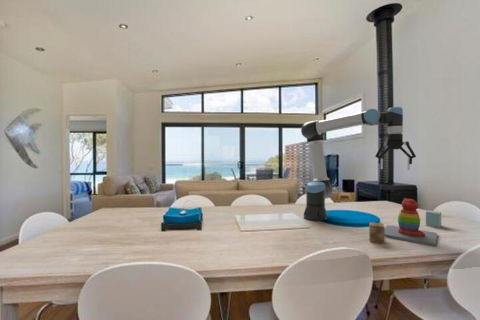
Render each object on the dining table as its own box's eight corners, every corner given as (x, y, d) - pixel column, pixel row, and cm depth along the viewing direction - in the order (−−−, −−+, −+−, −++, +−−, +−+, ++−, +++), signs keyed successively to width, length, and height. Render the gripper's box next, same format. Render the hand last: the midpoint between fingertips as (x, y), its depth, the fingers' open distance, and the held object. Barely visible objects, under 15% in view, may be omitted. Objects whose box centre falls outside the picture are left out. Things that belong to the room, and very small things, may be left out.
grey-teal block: (425, 225, 143) (425, 211, 143) (428, 223, 147) (428, 210, 146) (438, 227, 138) (438, 213, 138) (441, 225, 142) (441, 212, 142)
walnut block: (369, 241, 116) (370, 225, 116) (369, 238, 121) (369, 222, 121) (384, 243, 113) (384, 226, 113) (383, 239, 119) (383, 223, 118)
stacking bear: (427, 236, 119) (427, 200, 119) (406, 236, 119) (407, 200, 119) (412, 230, 130) (412, 196, 129) (393, 230, 130) (393, 196, 129)
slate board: (380, 235, 124) (380, 233, 124) (387, 227, 139) (387, 224, 139) (435, 246, 110) (435, 243, 110) (436, 235, 125) (436, 232, 125)
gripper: (421, 132, 139) (421, 170, 139) (373, 135, 155) (372, 168, 155) (420, 131, 133) (420, 170, 133) (370, 134, 149) (369, 169, 149)
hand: (394, 169), depth 144 cm, fingers open, 13 cm apart
